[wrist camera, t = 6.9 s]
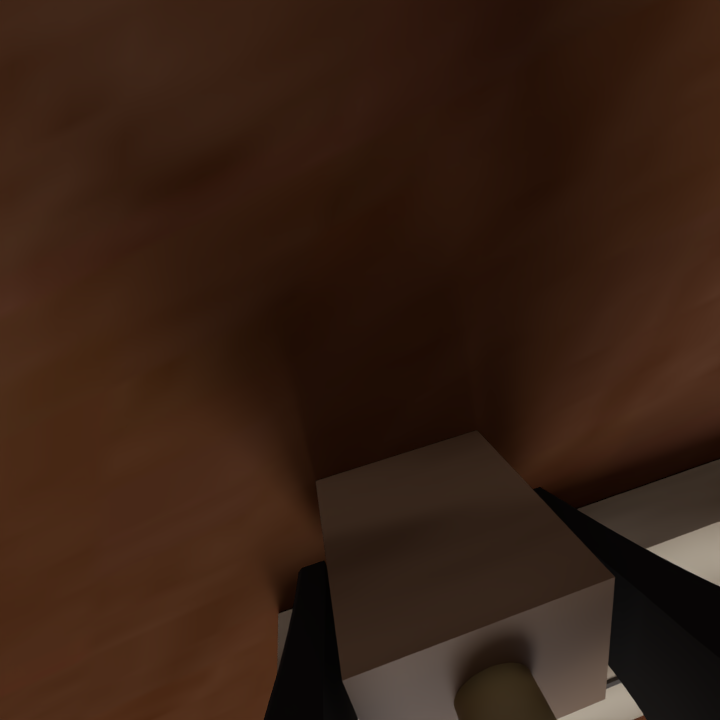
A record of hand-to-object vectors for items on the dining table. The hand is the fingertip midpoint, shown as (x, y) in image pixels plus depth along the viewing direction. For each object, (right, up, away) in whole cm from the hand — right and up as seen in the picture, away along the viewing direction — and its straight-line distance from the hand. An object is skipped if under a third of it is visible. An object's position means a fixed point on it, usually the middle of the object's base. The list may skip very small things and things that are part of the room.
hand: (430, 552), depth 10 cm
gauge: (0, -3, +3) cm, 4 cm away
